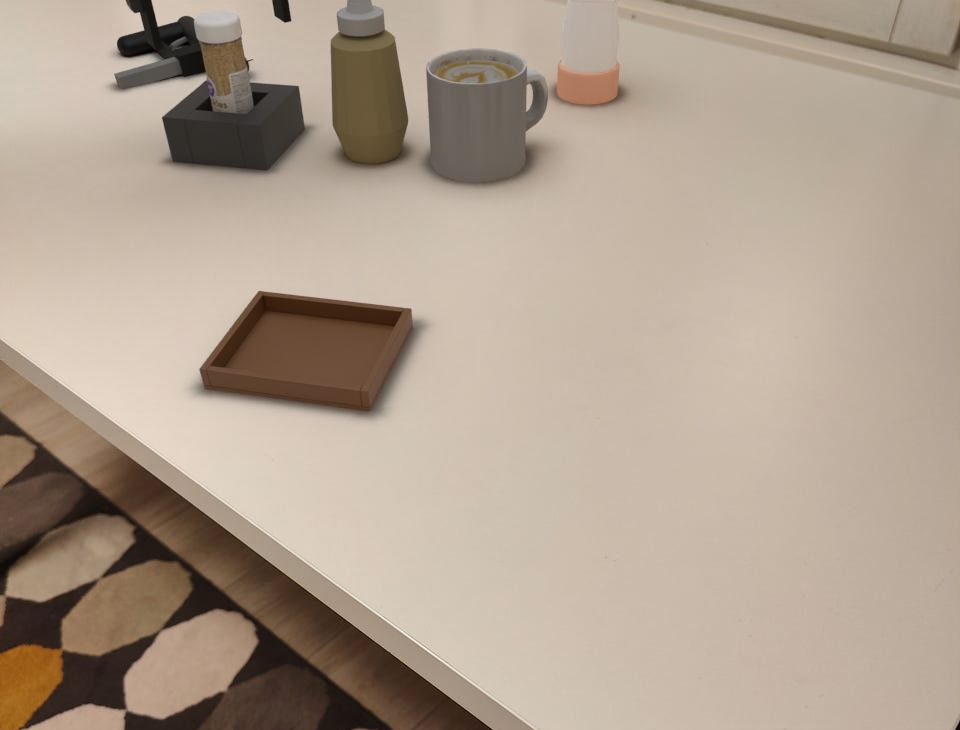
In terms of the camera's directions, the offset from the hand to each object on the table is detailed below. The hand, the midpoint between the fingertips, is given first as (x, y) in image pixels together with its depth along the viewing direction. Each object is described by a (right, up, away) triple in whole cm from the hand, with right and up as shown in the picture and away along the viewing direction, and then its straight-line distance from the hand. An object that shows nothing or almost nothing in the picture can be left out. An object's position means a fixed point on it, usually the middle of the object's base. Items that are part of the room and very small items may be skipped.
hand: (220, 32), depth 96 cm
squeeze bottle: (+15, -10, +6) cm, 19 cm away
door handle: (-13, +8, +27) cm, 31 cm away
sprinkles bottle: (0, -9, +8) cm, 12 cm away
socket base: (0, -9, +8) cm, 12 cm away
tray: (+13, -36, -21) cm, 44 cm away
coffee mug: (+28, -12, +5) cm, 30 cm away
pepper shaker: (+39, +1, +18) cm, 43 cm away
